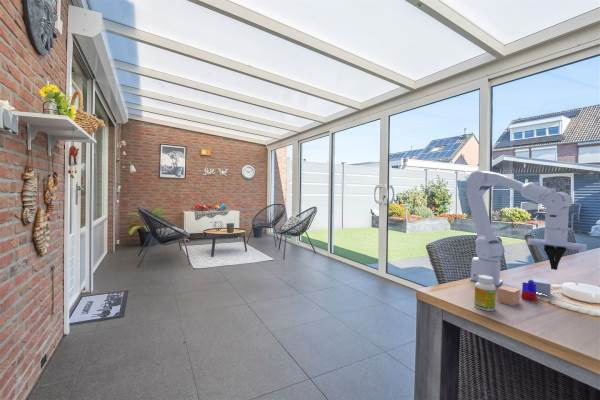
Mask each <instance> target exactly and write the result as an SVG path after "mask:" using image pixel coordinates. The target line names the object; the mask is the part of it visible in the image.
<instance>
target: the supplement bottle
mask: <svg viewBox="0 0 600 400" xmlns="http://www.w3.org/2000/svg"><path fill="white" fill-rule="evenodd" d="M478 281H479V282H478ZM478 281H475V284H474V285H475V286H474V300H473V301H474V304H473V305H474V306H475V308H477V309H478V308H479V310H481V309H482V310H481V311H485V310H486V312H493V311H495V309H496V298H497V294H496V293H497V287H496V285H493V284H492V283H493V277H491V276H487V275H479V276H478Z"/></svg>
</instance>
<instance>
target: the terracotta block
mask: <svg viewBox="0 0 600 400" xmlns="http://www.w3.org/2000/svg"><path fill="white" fill-rule="evenodd" d="M520 292H521V290H520V289H519V288H515V287H510V286H507V285H502V286H499V287H497V295H496V298H497V300H496V301H497V302H499V303H502V304H505V305H508V306H511V307H514V306H516V305H518V304H520V297H521V296H520Z"/></svg>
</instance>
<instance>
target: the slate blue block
mask: <svg viewBox="0 0 600 400" xmlns="http://www.w3.org/2000/svg"><path fill="white" fill-rule="evenodd" d="M531 280H532V281H534V284H536V292H538V293H542V294H545V295H547V296H546V297H548V296H550V297H551V287H552V286H551V285H552V284H551V283H550V282H549V280H548V279H547V280H545V279H539V278H533V277H532V278H531Z"/></svg>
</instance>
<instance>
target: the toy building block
mask: <svg viewBox="0 0 600 400" xmlns="http://www.w3.org/2000/svg"><path fill="white" fill-rule="evenodd" d="M521 286H522V289H521V299H524V300H529V301H534V302H535V301H536V300H537V299H536V298H537V295H536V284H534V281H532V279H529V280H528V282H524V281H523V282H522V285H521Z"/></svg>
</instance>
